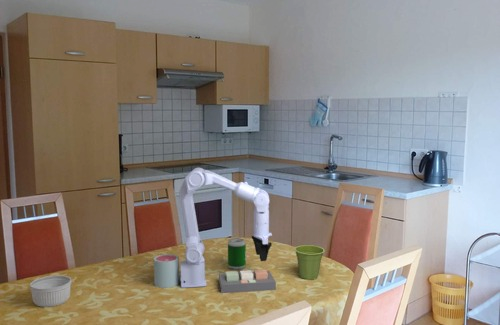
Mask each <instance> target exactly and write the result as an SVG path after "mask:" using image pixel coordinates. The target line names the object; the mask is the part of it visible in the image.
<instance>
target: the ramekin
mask: <svg viewBox="0 0 500 325" xmlns="http://www.w3.org/2000/svg"><path fill="white" fill-rule="evenodd" d="M71 285H72V278H71V277H70V276H67V275H61V274H59V275H56V274H55V275H47V276H43V277H39V278H36V279H34V280H32V282H30V284H29V289H30V293H31V298H32V301H33V303H34V304H35V306H37V307H42V308H43V307H44V308H48V307H49V308H50V307H55V306H58V305H59V306H60V305H62V304H64V303H66V302H67V301H68V299H69V298H70V296H71Z"/></svg>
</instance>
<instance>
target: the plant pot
mask: <svg viewBox="0 0 500 325" xmlns="http://www.w3.org/2000/svg"><path fill="white" fill-rule="evenodd" d="M294 251H295V254H296V255H295V256H296V259H297V266H298V273H299V277H300V278H301V279H306V280H315V279H317V278H318V277H319V271H320V268H321V263H322V258H323V255H324V253H325V249H324V248H323V247H321V246H318V245H312V244H310V245H309V244H306V245H304V244H302V245H298V246H295V247H294Z"/></svg>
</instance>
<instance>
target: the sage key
mask: <svg viewBox="0 0 500 325" xmlns="http://www.w3.org/2000/svg"><path fill="white" fill-rule="evenodd" d="M225 273H226V281H239V275H238V270H231V271H230V270H229V271H225Z"/></svg>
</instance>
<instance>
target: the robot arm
mask: <svg viewBox="0 0 500 325" xmlns="http://www.w3.org/2000/svg"><path fill="white" fill-rule="evenodd" d="M204 183H205V184H204ZM248 183H249V182H247V181H244V182H243V181H240V182H234V181H233V180H230V179H228V178H226V177H224V176H222V175H221V174H218V173H216V172H214V171H211V170H208V169H204V168H202V167H196V168H194V169H192V170H191V171H190V172H189V173H188V174H187V175H186V176H185V177H184V179H183V182H182V184H181V186H180V188H179V191H178V195H179V202H180V206H181V207H180V208H181V212H182V214H181V215H182V219H183V225H184V232H185V238H186V239H185V247H186V250H185V253H184V257H185V260H183V261H180V275H179V282H180V287H181V288H183V289H184V288H195V287H196V288H197V287H199V288H201V287H207V281H206V275H205V274H206V268H205V267H206V266H205V264H206V262H205V261H206V260H205V257H204V256H203V254H204V252H205V245H204V243H203V241H202V239H201V238H202V237H201V236H200V234H199V233H200V232H199V226H198V220H197V215H196V214H197V213H196V208H195V202H194V196H193V194H194V193H195V191H197V189H199V188H201V187H202V186H203V185H205V186H209V185H216V186H218V187H222V188H224V189H227V190H229V191H231V192H233V193H234V195H235V197H237V198H239V199H242V200H244V201H247V202H249V203H254V204H253V205H254V210H253V235H251V239H252V241H253V244H254V249H255V254H256V255H257V256H259V260H260V262H266V261H267V260H268V254H269V252H270V249H271V247H272V244H273V243H272V242H269V238H270V237H271V236H273V234H272V232H270V210H269V208H270V206H269V204H270V196H269V193H268V192H267V191H266V190H264V189H262V188H260V187H258V186H257V187H255V186H253V185H250V184H248Z"/></svg>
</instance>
